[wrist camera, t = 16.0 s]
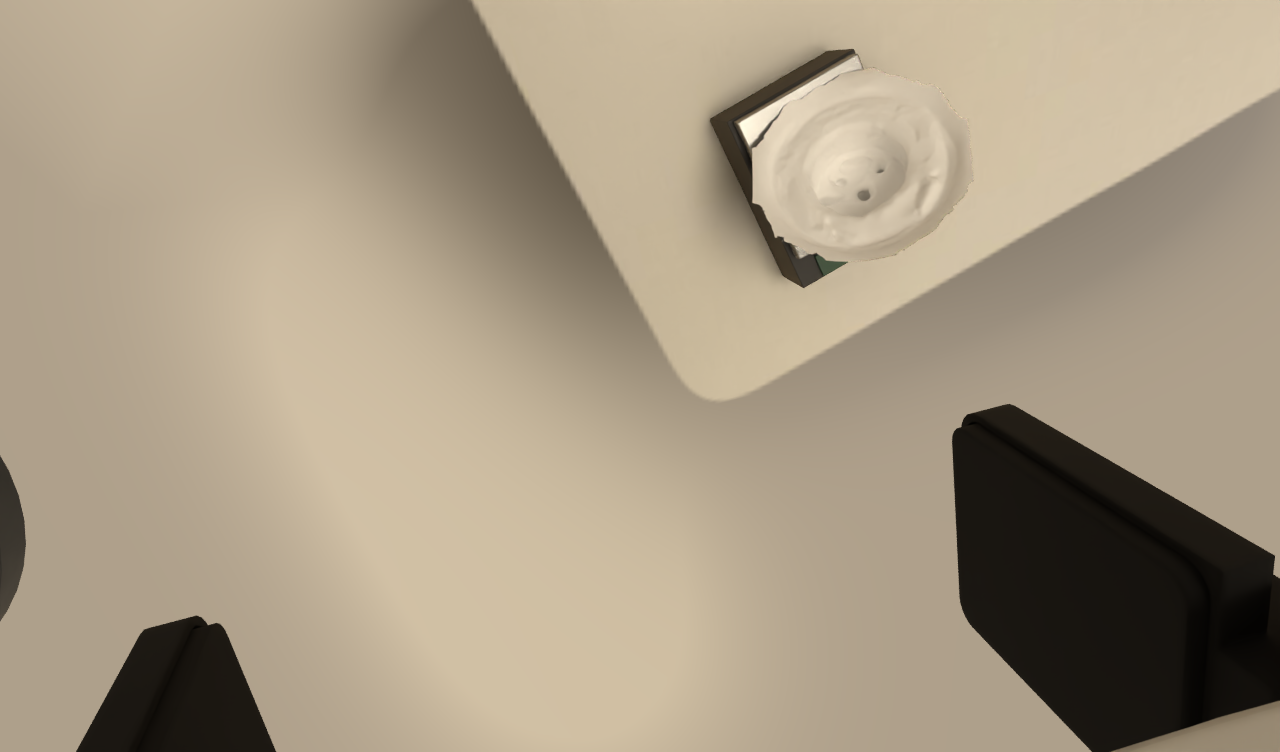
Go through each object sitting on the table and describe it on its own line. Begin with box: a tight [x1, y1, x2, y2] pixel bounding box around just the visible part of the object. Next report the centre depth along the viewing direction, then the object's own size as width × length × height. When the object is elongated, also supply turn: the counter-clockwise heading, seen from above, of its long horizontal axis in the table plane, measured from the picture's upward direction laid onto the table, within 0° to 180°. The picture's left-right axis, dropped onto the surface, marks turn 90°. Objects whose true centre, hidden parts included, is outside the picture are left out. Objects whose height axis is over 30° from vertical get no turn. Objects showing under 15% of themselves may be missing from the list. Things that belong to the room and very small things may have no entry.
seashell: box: [752, 68, 974, 262], centre depth 34 cm, size 8×5×8 cm
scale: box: [710, 49, 855, 288], centre depth 38 cm, size 8×6×3 cm
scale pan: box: [734, 54, 864, 259], centre depth 36 cm, size 6×6×1 cm
